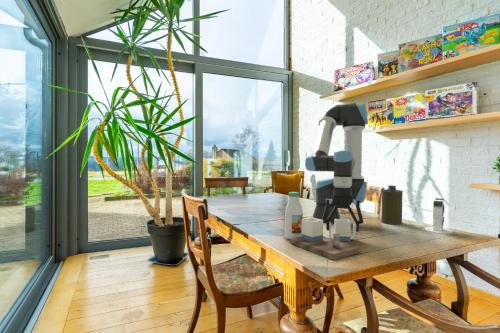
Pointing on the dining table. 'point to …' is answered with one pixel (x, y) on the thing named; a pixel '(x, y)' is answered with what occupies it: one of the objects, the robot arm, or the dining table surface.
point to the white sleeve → (343, 229)
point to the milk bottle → (293, 217)
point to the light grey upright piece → (438, 218)
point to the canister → (391, 206)
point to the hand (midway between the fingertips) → (342, 238)
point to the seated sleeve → (312, 229)
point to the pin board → (327, 247)
